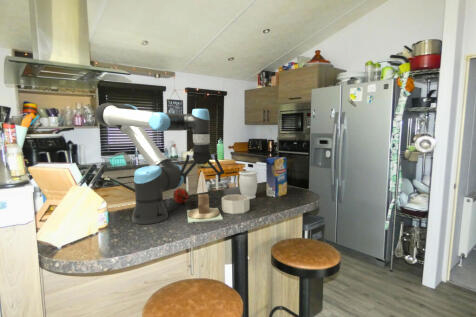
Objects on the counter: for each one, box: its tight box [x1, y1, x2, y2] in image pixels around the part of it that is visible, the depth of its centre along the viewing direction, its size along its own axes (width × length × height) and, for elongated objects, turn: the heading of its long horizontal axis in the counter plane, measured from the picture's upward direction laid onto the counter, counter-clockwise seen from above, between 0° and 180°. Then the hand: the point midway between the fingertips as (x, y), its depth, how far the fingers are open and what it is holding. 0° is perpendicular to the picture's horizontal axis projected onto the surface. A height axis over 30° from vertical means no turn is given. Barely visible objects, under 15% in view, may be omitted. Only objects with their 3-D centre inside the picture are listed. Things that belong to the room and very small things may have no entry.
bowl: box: [221, 194, 250, 215], centre depth 133 cm, size 13×13×6 cm
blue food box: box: [265, 156, 288, 198], centre depth 161 cm, size 7×11×22 cm, turn 134°
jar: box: [238, 170, 258, 200], centre depth 156 cm, size 11×10×15 cm
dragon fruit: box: [172, 187, 191, 205], centre depth 148 cm, size 8×8×12 cm
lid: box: [187, 193, 220, 219], centre depth 125 cm, size 14×14×9 cm
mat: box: [186, 207, 224, 224], centre depth 125 cm, size 15×17×1 cm
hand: (202, 189), depth 124 cm, fingers open, 13 cm apart
